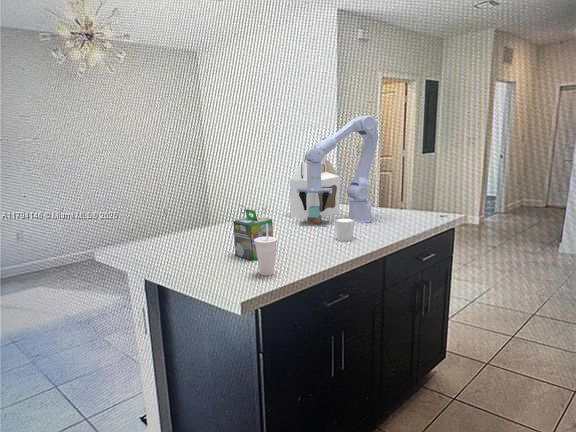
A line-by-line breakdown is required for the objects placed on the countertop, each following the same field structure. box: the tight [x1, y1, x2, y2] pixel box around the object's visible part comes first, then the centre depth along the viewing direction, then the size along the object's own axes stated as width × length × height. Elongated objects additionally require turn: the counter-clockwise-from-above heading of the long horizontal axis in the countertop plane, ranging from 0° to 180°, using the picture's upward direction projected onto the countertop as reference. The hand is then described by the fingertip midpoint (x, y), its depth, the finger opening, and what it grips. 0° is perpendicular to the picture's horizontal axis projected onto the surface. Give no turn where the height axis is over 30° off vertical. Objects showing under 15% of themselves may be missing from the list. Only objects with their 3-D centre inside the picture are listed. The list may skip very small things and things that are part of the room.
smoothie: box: [254, 224, 278, 277], centre depth 110 cm, size 6×6×14 cm
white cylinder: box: [334, 218, 355, 242], centre depth 145 cm, size 7×7×7 cm
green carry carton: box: [232, 208, 274, 262], centre depth 128 cm, size 9×9×15 cm
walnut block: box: [306, 215, 322, 225], centre depth 170 cm, size 5×5×3 cm
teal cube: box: [309, 206, 320, 218], centre depth 169 cm, size 4×4×4 cm
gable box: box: [289, 155, 340, 220], centre depth 186 cm, size 22×13×28 cm, turn 144°
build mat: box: [298, 219, 330, 228], centre depth 170 cm, size 11×11×1 cm
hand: (314, 210), depth 169 cm, fingers open, 7 cm apart
